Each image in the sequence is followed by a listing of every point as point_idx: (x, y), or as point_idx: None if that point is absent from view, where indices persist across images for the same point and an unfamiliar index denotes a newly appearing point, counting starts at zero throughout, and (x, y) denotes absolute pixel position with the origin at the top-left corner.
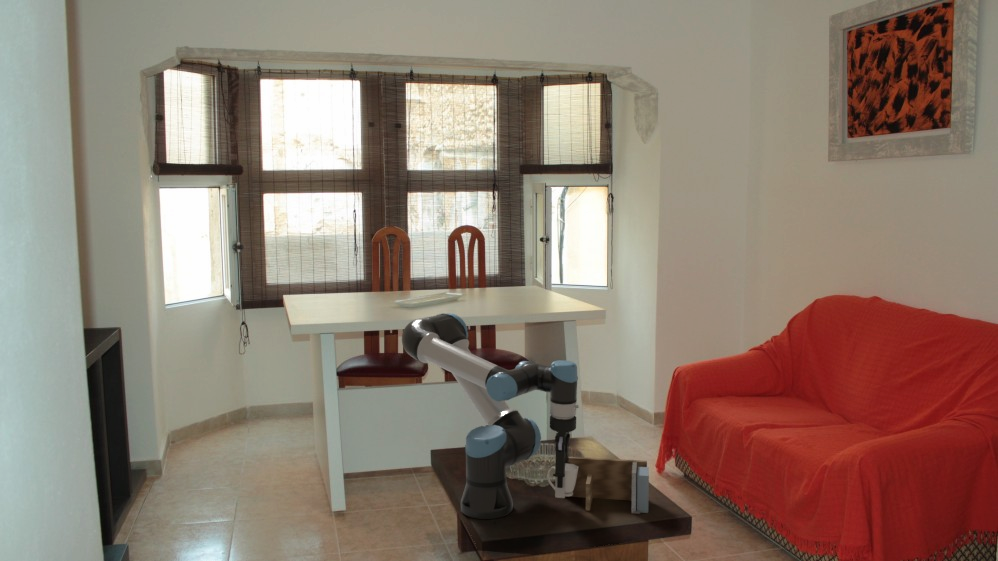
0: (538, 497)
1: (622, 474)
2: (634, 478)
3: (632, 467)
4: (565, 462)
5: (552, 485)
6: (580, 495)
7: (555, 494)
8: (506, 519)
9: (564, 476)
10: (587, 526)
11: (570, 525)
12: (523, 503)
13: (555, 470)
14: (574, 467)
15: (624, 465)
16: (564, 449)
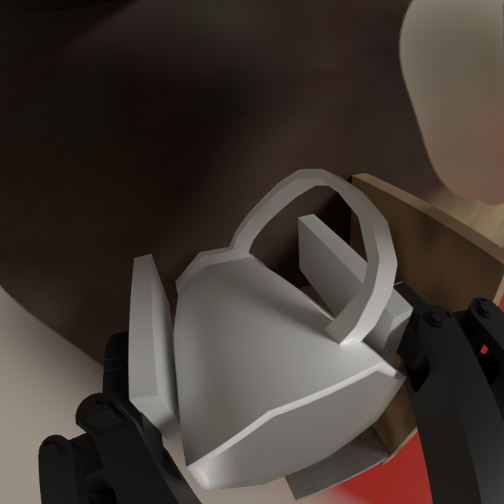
0: (317, 72)
1: None
2: (289, 486)
3: (343, 480)
4: (418, 371)
5: (270, 204)
6: (353, 249)
7: (134, 271)
8: (8, 34)
9: (165, 436)
10: (102, 354)
11: (73, 309)
12: (222, 15)
13: (42, 499)
14: (342, 425)
15: (391, 435)
16: None
